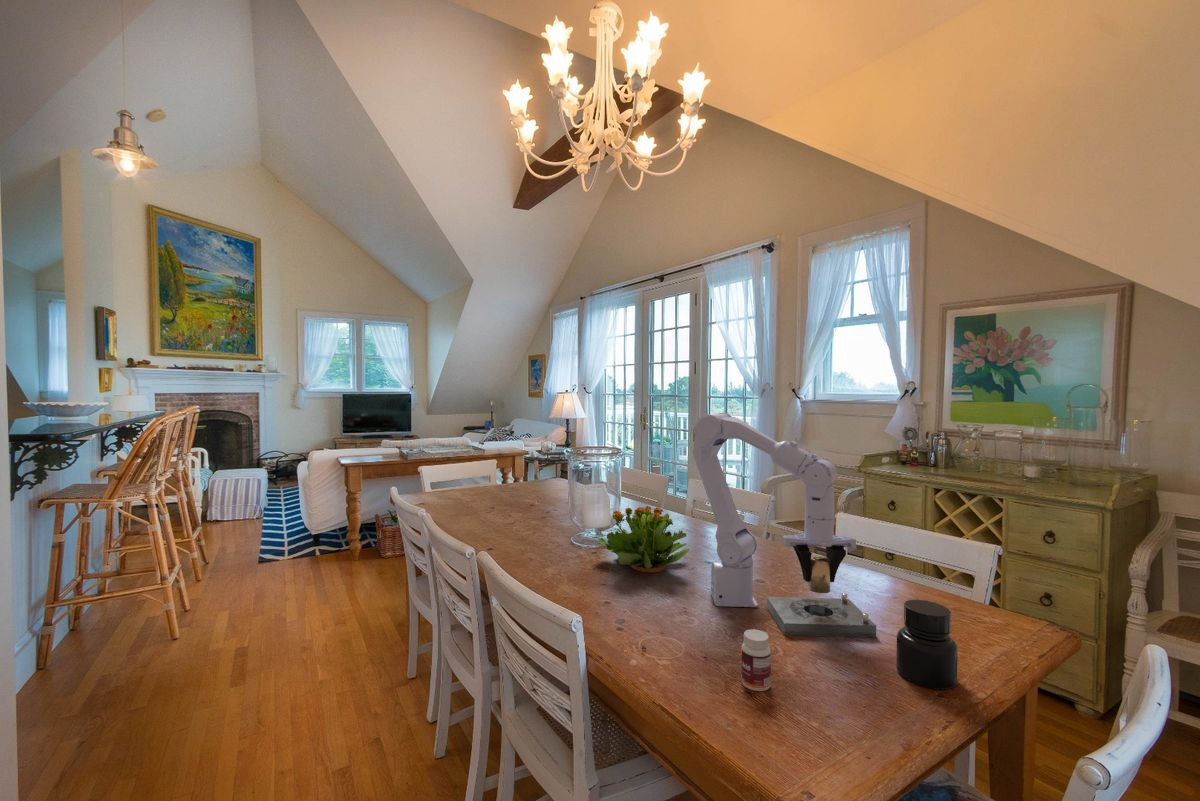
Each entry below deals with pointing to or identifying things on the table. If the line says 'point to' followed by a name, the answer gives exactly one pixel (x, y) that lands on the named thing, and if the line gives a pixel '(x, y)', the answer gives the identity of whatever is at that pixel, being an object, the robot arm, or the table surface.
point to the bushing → (819, 574)
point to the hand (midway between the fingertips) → (818, 580)
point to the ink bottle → (927, 646)
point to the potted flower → (645, 540)
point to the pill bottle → (756, 660)
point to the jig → (820, 617)
